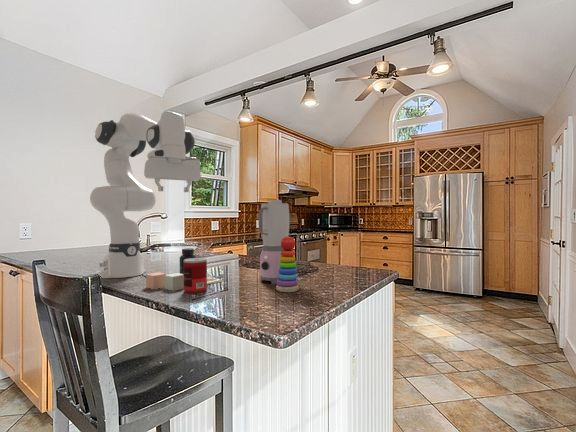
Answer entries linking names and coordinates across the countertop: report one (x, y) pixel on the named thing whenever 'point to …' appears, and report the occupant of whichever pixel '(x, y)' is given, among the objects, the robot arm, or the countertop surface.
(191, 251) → the supplement bottle
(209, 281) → the build plate
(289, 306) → the countertop surface
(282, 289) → the stacking toy
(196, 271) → the canned food
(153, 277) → the block
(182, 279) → the block
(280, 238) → the blender
